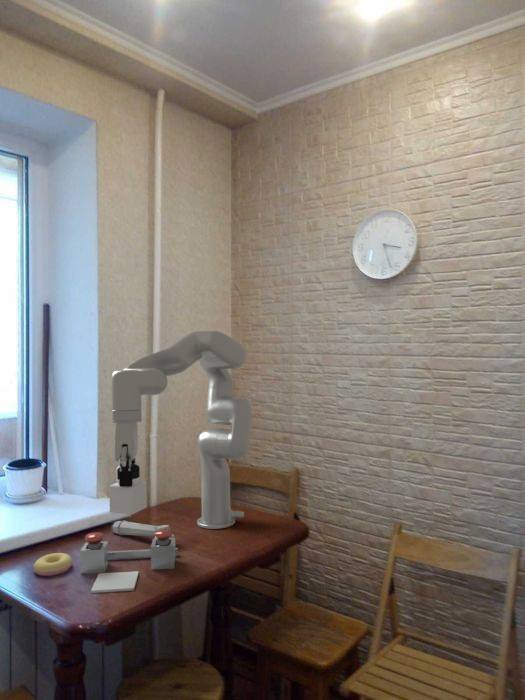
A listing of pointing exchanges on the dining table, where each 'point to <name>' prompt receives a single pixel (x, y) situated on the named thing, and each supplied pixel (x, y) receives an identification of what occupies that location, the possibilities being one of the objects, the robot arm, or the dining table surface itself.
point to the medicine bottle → (128, 494)
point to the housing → (127, 556)
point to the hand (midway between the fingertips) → (128, 482)
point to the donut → (53, 564)
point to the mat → (115, 582)
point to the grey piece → (136, 528)
